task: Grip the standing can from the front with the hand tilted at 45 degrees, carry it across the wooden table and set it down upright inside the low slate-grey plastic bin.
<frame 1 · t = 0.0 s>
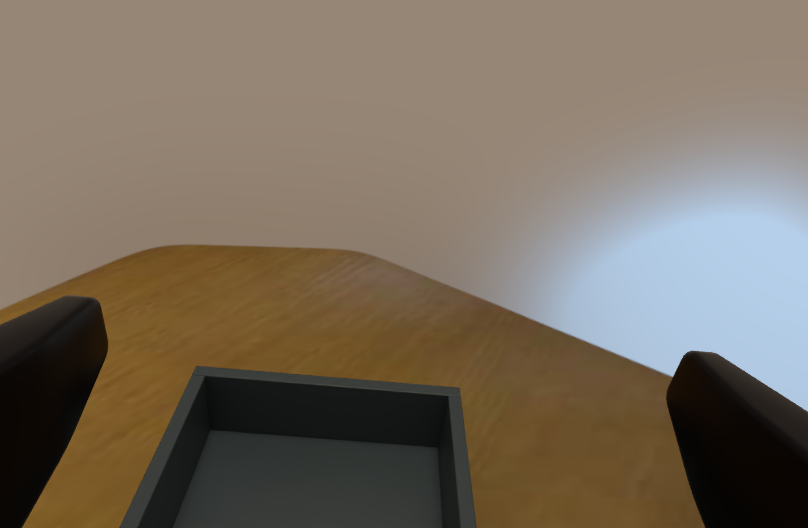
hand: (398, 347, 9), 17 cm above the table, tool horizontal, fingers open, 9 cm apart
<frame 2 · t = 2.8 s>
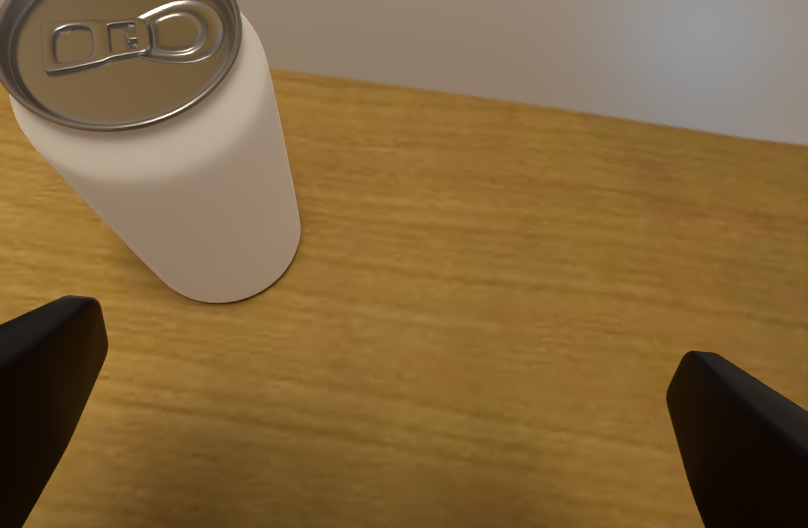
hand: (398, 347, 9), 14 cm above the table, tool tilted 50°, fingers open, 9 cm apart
can: (227, 237, 24), on the table
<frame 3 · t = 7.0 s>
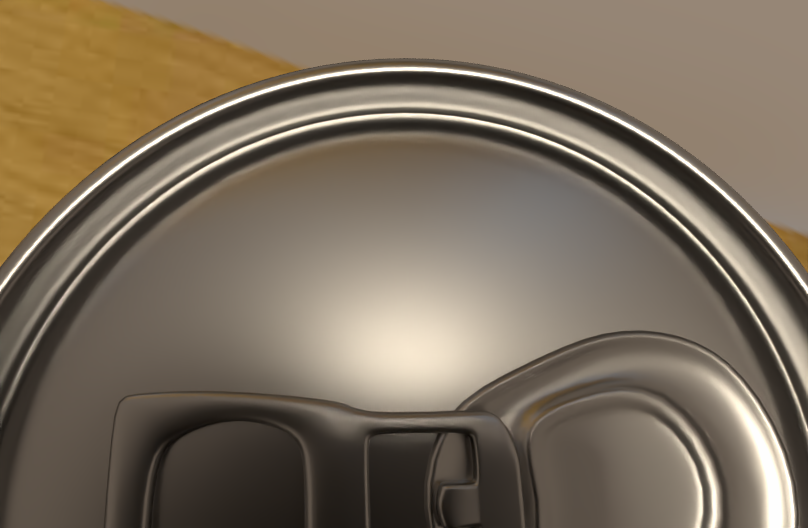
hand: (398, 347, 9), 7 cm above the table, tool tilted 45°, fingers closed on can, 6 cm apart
can: (374, 423, 15), on the table, touching gripper
when the fingers open (7 cm above the table, at t = 16.7 s): can stays where it is, resting on bin.
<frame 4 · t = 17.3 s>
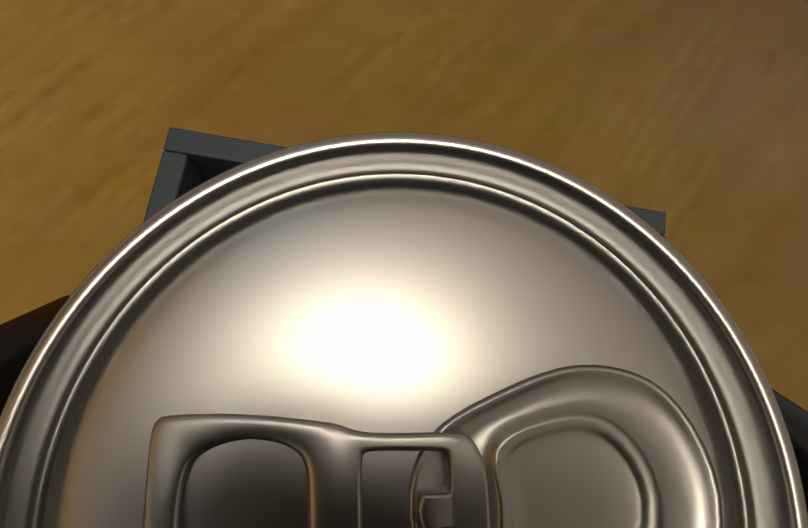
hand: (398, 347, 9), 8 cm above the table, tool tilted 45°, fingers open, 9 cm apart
can: (372, 428, 16), resting on bin
bin: (376, 423, 16), on the table
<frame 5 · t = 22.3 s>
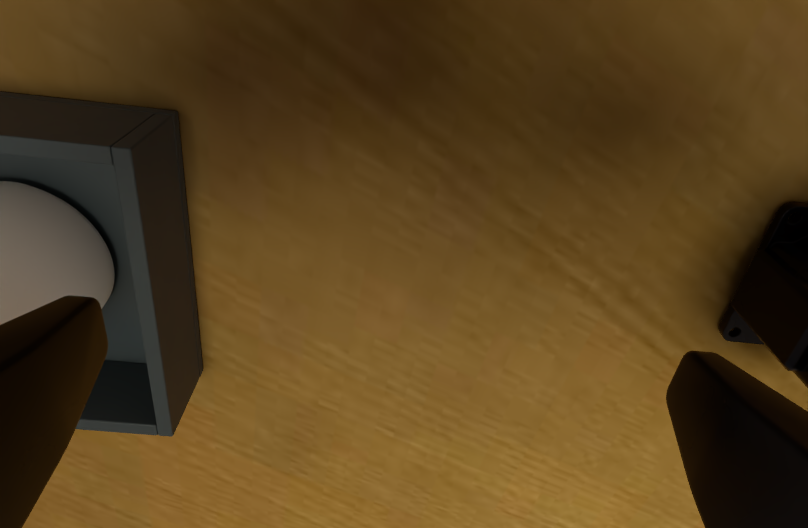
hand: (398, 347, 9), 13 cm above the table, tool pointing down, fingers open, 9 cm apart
can: (38, 249, 22), resting on bin
bin: (39, 243, 23), on the table
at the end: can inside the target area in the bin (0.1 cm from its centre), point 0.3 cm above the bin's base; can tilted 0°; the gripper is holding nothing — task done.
